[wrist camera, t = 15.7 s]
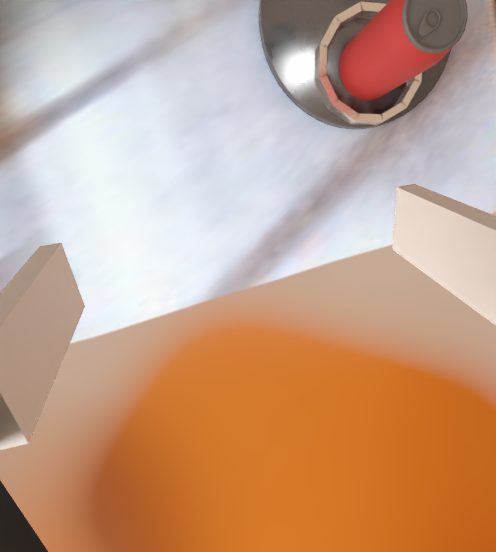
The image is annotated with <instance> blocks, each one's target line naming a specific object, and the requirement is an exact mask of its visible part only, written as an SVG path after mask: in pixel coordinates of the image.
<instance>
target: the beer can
mask: <svg viewBox="0 0 496 552" xmlns="http://www.w3.org/2000/svg"><path fill="white" fill-rule="evenodd" d="M466 22H467V4H466V1H465V0H390V1H389V2H388V3H387V4H386V5H385V6H384V7H383V8H382V9H381V10H380V11H379V12H378V13H377V14H376V15H375V17H374V18H373V19H372V20H371V21H370V22H369V23H368V24H367V25H366V26H365V27H364V28H363V29H362V30H361V31H360V32H359V33H358V34H357V35H356V36H355V37H354V38H353V39H352V40H351V41H350V42H349V43H348V44H347V45H346V47H345V49H344V51H343V52H342V54H341V59H340V64H339V70H340V77H341V80H342V83H343V85H344V87H345V88H346V89H347V91H348V92H349V93H350V94H352V95H353V96H355V97H356V98H359V99H363V100H375V99H377V98H379V97H381V96H383V95H385V94H386V93H388V92H390V91H391V90H393V89H395V88H397V87H398V86H400V85H402V84H403V83H405V82H407V81H408V80H410V79H412V78H414V77H415V76H417V75H419V74H420V73H422V72H424V71H425V70H427V69H429V68H431V67H432V66H434V65H436V64H437V63H438V62H439V61H440V60H441V59H442V58H443V57H444V56H445V55H446V54H447V53H448V52H449V51H450V49H451V48H452V47H453V46H454V45H455V44H456V43H457V42H458V41H459V39H460V38H461V36H462V34H463V32H464V30H465V26H466Z"/></svg>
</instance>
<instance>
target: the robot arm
mask: <svg viewBox="0 0 496 552" xmlns="http://www.w3.org/2000/svg"><path fill="white" fill-rule="evenodd" d="M393 250H394V251H395V252H397V253H398V254H399V255H401V256H402V257H403V258H405V259H406V260H407V261H409V262H411V263H412V264H413V265H414V266H416V267H417V268H418V269H420V270H421V271H422V272H424V273H425V274H427V275H428V276H429V277H431V278H432V279H433V280H435V281H436V282H437V283H439V284H440V285H441V286H443V287H444V288H446V289H447V290H448V291H450V292H451V293H452V294H454V295H455V296H456V297H458V298H459V299H461V300H462V301H463V302H465V303H466V304H468V305H469V306H470V307H471V308H473V309H474V310H475V311H477V312H478V313H480V314H481V315H482V316H484V317H485V318H486V319H488V320H489V321H490V322H492V323H493V324H495V325H496V216H494V215H491V214H489V213H486V212H484V211H481V210H479V209H476V208H474V207H471V206H469V205H466V204H464V203H461V202H459V201H456V200H453V199H451V198H448V197H446V196H443V195H441V194H438V193H436V192H433V191H431V190H428V189H426V188H423V187H421V186H418V185H416V184H412V185H406V186H400V187H397V191H396V206H395V221H394V236H393ZM84 307H85V306H84V303H83V300H82V298H81V295H80V292H79V290H78V287H77V284H76V281H75V279H74V276H73V273H72V271H71V268H70V265H69V263H68V260H67V257H66V254H65V252H64V249H63V246H62V244H61V243H58V244H52V245H46V246H40V247H39V248H38V249H37V250H36V251H35V253H34V254H33V255H32V256H31V257H30V259H29V260H28V261H27V262H26V263H25V264H24V266H23V267H22V268H21V269H20V270H19V271H18V273H17V274H16V275H15V276H14V277H13V279H12V280H11V281H10V282H9V283H8V284H7V286H6V287H5V288H4V289H3V290H2V291H1V293H0V450H1V449H6V448H10V447H14V446H20V445H24V444H29V441H30V439H31V436H32V434H33V432H34V429H35V426H36V424H37V422H38V419H39V417H40V414H41V412H42V409H43V407H44V405H45V402H46V400H47V397H48V395H49V392H50V390H51V387H52V385H53V383H54V380H55V378H56V375H57V373H58V370H59V368H60V366H61V363H62V361H63V358H64V356H65V353H66V351H67V348H68V346H69V344H70V341H71V339H72V336H73V334H74V331H75V329H76V327H77V324H78V322H79V319H80V317H81V314H82V312H83V309H84ZM0 552H48V551H47V550H46V548H45V546H44V545H43V543H42V542H41V540H40V539H39V537H38V536H37V534H36V533H35V531H34V530H33V529H32V527H31V526H30V524H29V523H28V521H27V520H26V518H25V517H24V515H23V514H22V512H21V511H20V509H19V508H18V507H17V505H16V503H15V502H14V500H13V499H12V497H11V496H10V494H9V493H8V491H7V490H6V488H5V487H4V485H3V484H2V483H1V481H0Z"/></svg>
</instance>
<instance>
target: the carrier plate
mask: <svg viewBox="0 0 496 552" xmlns="http://www.w3.org/2000/svg"><path fill="white" fill-rule="evenodd" d="M389 1H390V0H260V5H259V27H260V35H261V41H262V46H263V50H264V53H265V56H266V60H267V62H268V64H269V67H270V69H271V71H272V74H273V75H274V77H275V79H276V80H277V82H278V84H279V86H280V87H281V88H282V89H283V91H284V92H285V93H286V95H287V96H288V97H289V98H290V99H291V100H292V101H293V102H294V103H295V104H296V105H297V106H298V107H299V108H300V109H302V110H303V111H304V112H306V113H307V114H308V115H310V116H312V117H313V118H315V119H317V120H319V121H321V122H324V123H326V124H328V125H331V126H335V127H339V128H346V129H366V128H372V127H377V126H380V125H383V124H385V123H388V122H390V121H393V120H395V119H397V118H399V117H401V116H403V115H404V114H406V113H407V112H409V111H410V110H412V109H413V108H414V107H415V106H417V105H418V104H419V103H420V102H421V101H422V100H423V99H424V98H425V97H426V96H427V94H428V93H429V92H430V91H431V90H432V88H433V87H434V85H435V84H436V82H437V81H438V79H439V77H440V75H441V73H442V71H443V69H444V67H445V65H446V62H447V59H448V57H449V54H450V51H449V52H448V53H447V54H446V55H445V56H444V57H443V58H442V59H441V60H440V61H439V62H438V63H437V64H436V65H434V66H432V67H431V68H429V69H427V70H425V71H424V72H422V73H420V74H419V75H417V76H415V77H414V78H412V79H410V80H408V81H407V82H405V83H403V84H402V85H400V86H398V87H397V88H395V89H393V90H391V91H390V92H388V93H386V94H385V95H383V96H381V97H379V98H377V99H375V100H363V99H359V98H356V97H355V96H353V95H352V94H350V93H349V92H348V91H347V89H346V88H345V87H344V85H343V83H342V80H341V77H340V70H339V64H340V59H341V54H342V52H343V51H344V49H345V47H346V45H347V44H348V43H349V42H350V41H351V40H352V39H353V38H354V37H355V36H356V35H357V34H358V33H359V32H360V31H361V30H362V29H363V28H364V27H365V26H366V25H367V24H368V23H369V22H370V21H371V20H372V19H373V18H374V17H375V15H376V14H377V13H378V12H379V11H380V10H381V9H382V8H383V7H384V6H385V5H386V4H387V3H388V2H389ZM450 50H451V49H450Z"/></svg>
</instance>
